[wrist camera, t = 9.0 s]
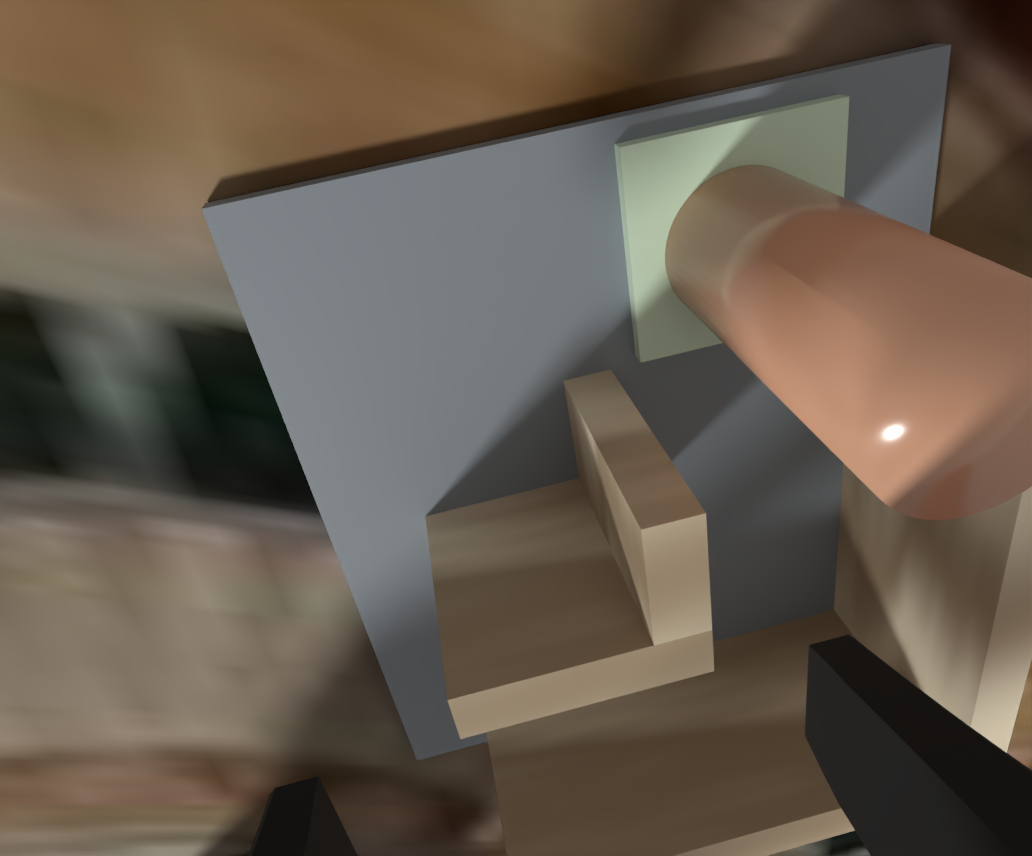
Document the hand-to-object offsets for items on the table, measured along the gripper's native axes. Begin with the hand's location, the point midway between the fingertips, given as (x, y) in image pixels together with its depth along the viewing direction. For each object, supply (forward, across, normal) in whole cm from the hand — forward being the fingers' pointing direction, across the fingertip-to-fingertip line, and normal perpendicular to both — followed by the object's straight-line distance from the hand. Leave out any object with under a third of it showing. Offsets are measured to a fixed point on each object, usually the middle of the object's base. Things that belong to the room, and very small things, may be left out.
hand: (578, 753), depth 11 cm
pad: (+9, -6, -4) cm, 12 cm away
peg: (+9, -6, -4) cm, 11 cm away
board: (+10, -4, +2) cm, 11 cm away
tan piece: (+9, -4, +5) cm, 11 cm away
